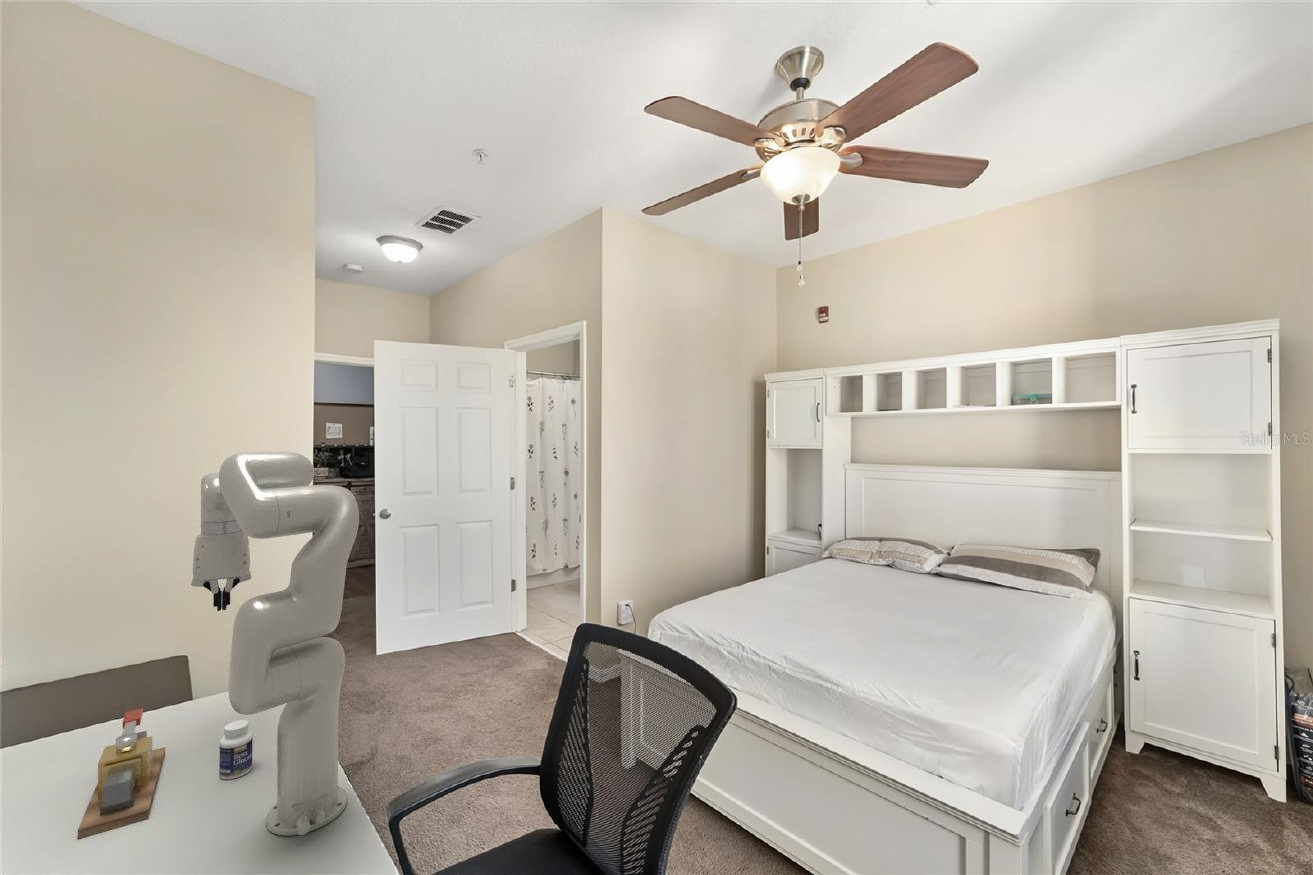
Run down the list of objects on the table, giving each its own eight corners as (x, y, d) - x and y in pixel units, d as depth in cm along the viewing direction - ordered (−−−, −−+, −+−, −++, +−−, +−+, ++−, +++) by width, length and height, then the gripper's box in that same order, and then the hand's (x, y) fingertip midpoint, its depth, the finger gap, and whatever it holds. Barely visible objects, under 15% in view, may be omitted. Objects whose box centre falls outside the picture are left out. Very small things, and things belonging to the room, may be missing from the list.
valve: (141, 806, 102) (141, 769, 102) (89, 821, 98) (89, 782, 98) (156, 753, 118) (157, 721, 118) (112, 764, 115) (112, 731, 114)
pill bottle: (234, 782, 112) (234, 733, 112) (212, 778, 113) (212, 730, 113) (259, 766, 117) (259, 719, 117) (237, 762, 118) (237, 716, 118)
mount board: (148, 818, 101) (148, 810, 101) (77, 839, 96) (77, 830, 96) (165, 754, 121) (165, 747, 121) (107, 768, 116) (107, 761, 116)
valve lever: (136, 748, 108) (136, 737, 108) (114, 753, 106) (114, 742, 106) (144, 717, 119) (144, 708, 119) (124, 722, 117) (124, 712, 117)
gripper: (262, 522, 134) (262, 599, 135) (180, 528, 126) (180, 610, 126) (262, 527, 128) (262, 607, 129) (177, 533, 120) (176, 619, 120)
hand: (221, 608), depth 127 cm, fingers closed
